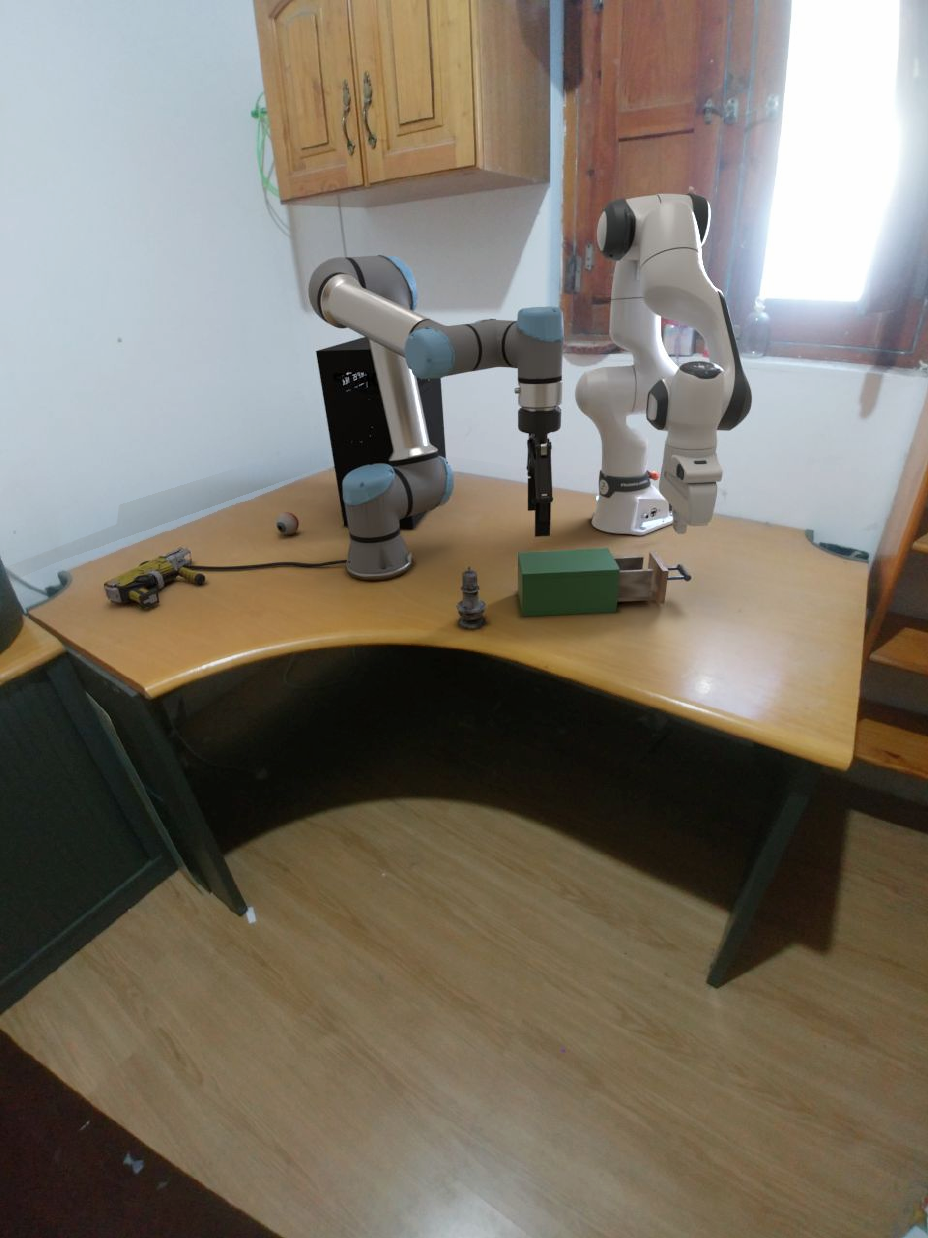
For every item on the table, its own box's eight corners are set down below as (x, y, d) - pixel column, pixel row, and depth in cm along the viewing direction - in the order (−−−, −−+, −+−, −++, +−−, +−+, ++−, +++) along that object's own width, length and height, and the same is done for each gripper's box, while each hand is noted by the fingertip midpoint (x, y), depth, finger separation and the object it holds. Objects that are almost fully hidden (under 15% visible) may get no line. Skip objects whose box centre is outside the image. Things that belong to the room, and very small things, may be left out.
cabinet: (605, 588, 128) (608, 547, 124) (616, 612, 120) (620, 569, 115) (517, 592, 129) (517, 552, 124) (522, 616, 120) (522, 574, 115)
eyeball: (273, 537, 164) (268, 516, 161) (287, 528, 169) (282, 508, 166) (291, 539, 161) (286, 518, 158) (305, 530, 166) (301, 510, 163)
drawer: (677, 581, 127) (681, 550, 124) (691, 602, 119) (697, 569, 116) (569, 586, 128) (571, 555, 124) (577, 607, 120) (578, 574, 116)
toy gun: (228, 555, 146) (178, 544, 150) (153, 596, 126) (97, 583, 130) (231, 573, 149) (181, 562, 153) (157, 616, 129) (102, 602, 132)
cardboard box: (413, 528, 164) (395, 348, 141) (344, 526, 168) (315, 350, 146) (447, 485, 195) (437, 332, 173) (388, 484, 200) (371, 334, 177)
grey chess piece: (484, 630, 116) (481, 573, 110) (454, 628, 117) (450, 572, 111) (489, 614, 121) (487, 560, 115) (460, 613, 122) (457, 559, 116)
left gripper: (512, 395, 116) (513, 501, 126) (524, 423, 94) (524, 549, 105) (551, 392, 116) (549, 499, 126) (572, 421, 94) (567, 546, 105)
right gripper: (655, 446, 119) (648, 513, 125) (689, 476, 101) (678, 552, 108) (687, 444, 118) (678, 511, 125) (727, 474, 101) (714, 551, 108)
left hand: (538, 522), depth 115 cm, fingers open, 13 cm apart
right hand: (678, 531), depth 116 cm, fingers closed
